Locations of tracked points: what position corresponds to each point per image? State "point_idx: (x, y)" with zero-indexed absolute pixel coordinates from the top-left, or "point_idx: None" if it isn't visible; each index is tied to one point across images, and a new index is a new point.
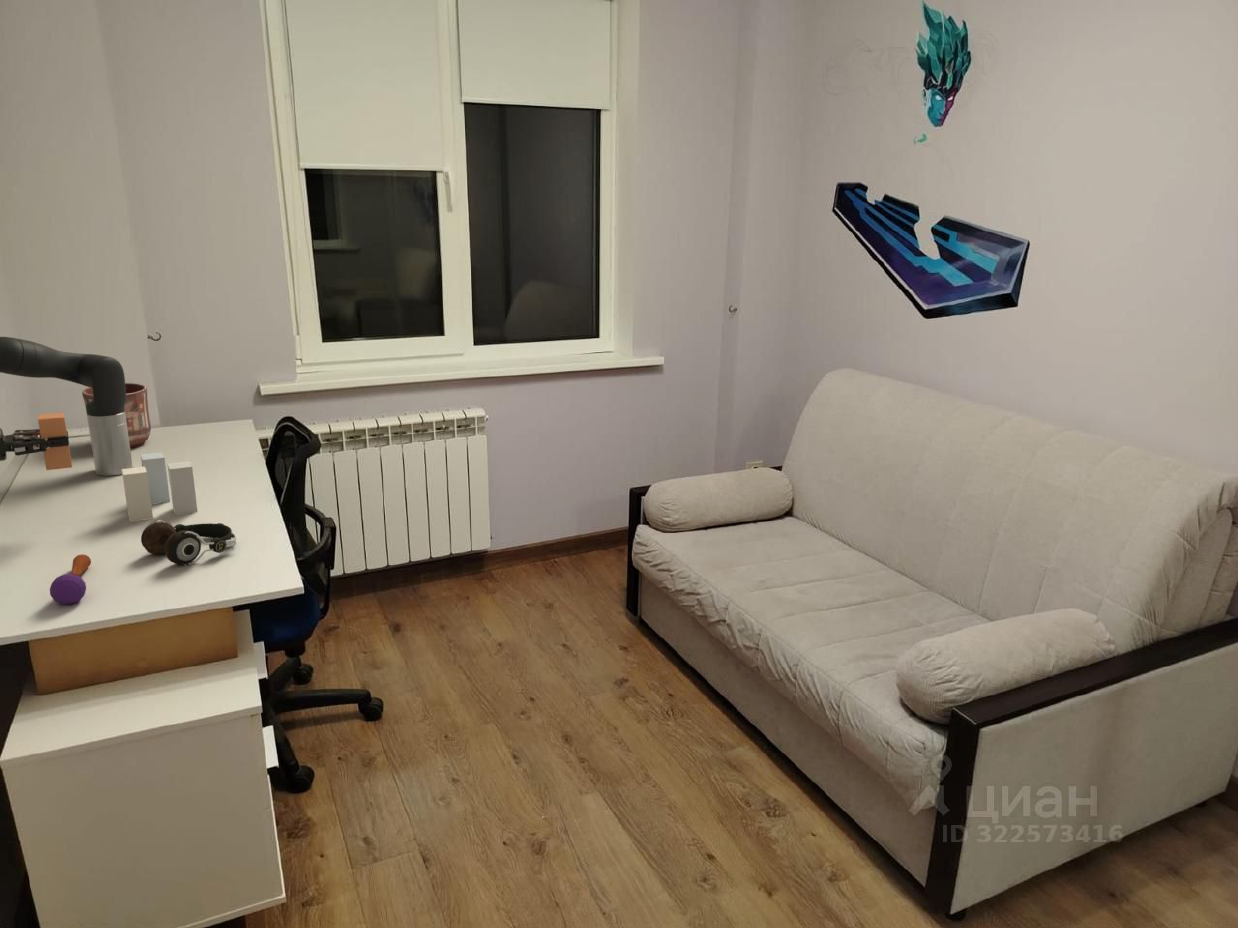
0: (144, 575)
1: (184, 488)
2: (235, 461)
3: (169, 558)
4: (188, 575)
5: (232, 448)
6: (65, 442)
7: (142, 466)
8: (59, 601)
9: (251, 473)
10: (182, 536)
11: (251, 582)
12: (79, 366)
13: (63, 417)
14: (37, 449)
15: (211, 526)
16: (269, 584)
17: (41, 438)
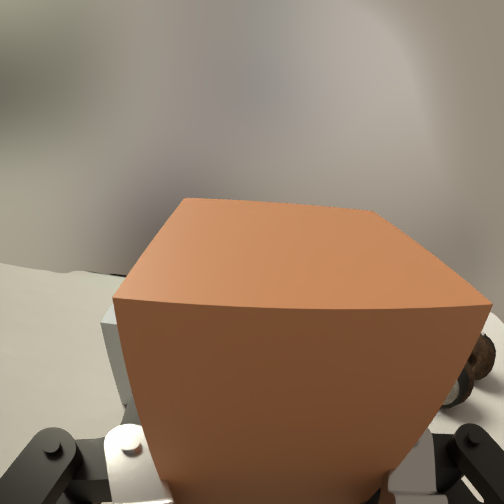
0: (500, 405)
1: None
2: (53, 286)
3: (484, 375)
4: (492, 369)
5: (9, 276)
6: None
7: (118, 346)
8: None
9: (116, 287)
10: (489, 338)
11: (493, 329)
12: None
13: (372, 213)
14: (452, 500)
15: None
16: (493, 321)
17: (418, 458)
